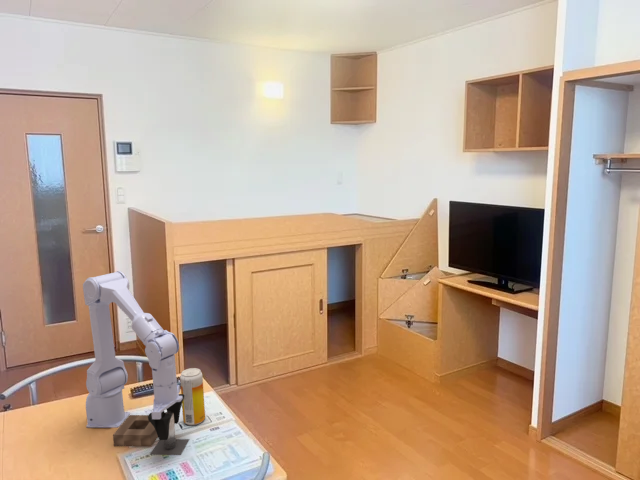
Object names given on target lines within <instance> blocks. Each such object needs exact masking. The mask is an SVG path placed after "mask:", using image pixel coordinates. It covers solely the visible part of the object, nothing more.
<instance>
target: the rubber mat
mask: <svg viewBox="0 0 640 480" xmlns="http://www.w3.org/2000/svg"><path fill="white" fill-rule="evenodd" d="M189 441H190V438H187V439H186V438H176V447H175V448H174V449H172V450H165V449H164V440H158V441H157V444H156V445H155V446H154V448H153V449H152V450H151V452H150V453H149V456H150V455H151V456H161V455H162V456H182V454H183V452H184V450H185V449H186V447H187V444H188V443H189Z"/></svg>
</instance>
